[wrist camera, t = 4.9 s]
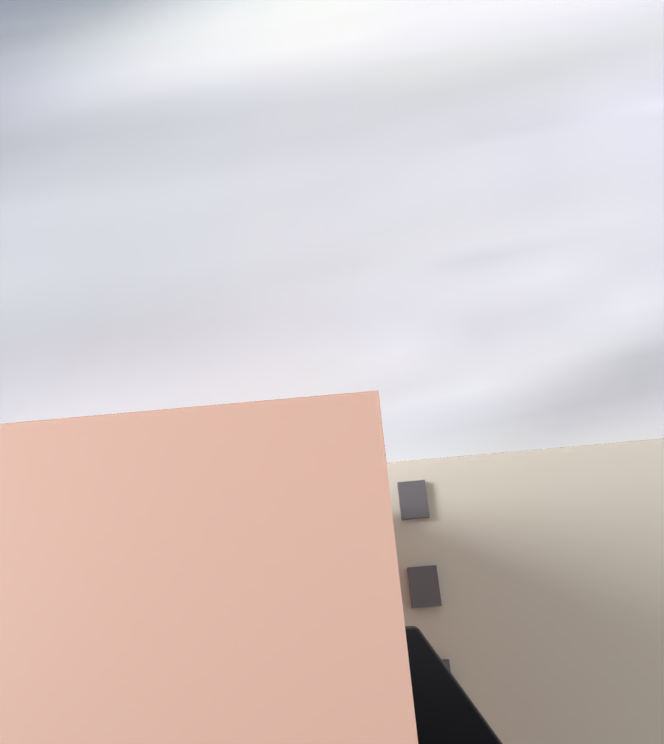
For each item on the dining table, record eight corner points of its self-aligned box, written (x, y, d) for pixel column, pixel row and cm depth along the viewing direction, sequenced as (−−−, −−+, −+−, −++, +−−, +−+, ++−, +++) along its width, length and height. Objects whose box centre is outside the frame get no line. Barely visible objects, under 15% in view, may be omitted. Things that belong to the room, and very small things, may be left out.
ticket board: (804, 879, 13) (912, 943, 10) (423, 909, 13) (439, 980, 10) (681, 458, 16) (741, 429, 14) (378, 484, 16) (381, 461, 14)
